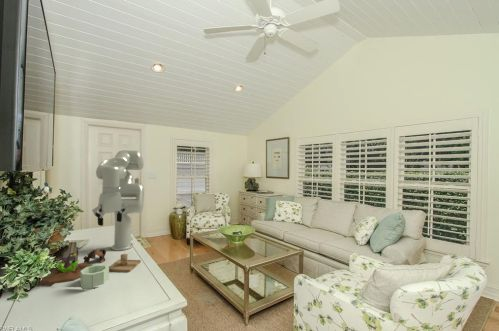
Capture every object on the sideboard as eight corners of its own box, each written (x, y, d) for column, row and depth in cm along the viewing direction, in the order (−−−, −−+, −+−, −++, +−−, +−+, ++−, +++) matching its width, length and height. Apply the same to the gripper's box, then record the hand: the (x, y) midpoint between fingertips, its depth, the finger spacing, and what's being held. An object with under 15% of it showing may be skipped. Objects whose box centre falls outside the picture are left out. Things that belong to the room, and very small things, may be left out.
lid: (118, 261, 133) (118, 250, 132) (140, 262, 133) (140, 251, 132) (105, 271, 121) (105, 259, 120) (129, 272, 121) (129, 259, 120)
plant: (79, 285, 109) (79, 260, 109) (30, 287, 106) (30, 262, 106) (99, 266, 129) (99, 245, 129) (58, 268, 126) (58, 246, 126)
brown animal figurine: (99, 268, 128) (90, 255, 126) (86, 274, 129) (77, 261, 128) (113, 254, 139) (105, 242, 138) (101, 259, 141) (92, 248, 139)
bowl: (90, 277, 116) (91, 264, 116) (112, 278, 116) (112, 264, 116) (75, 289, 105) (75, 274, 105) (99, 289, 105) (99, 274, 105)
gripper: (122, 188, 134) (121, 219, 134) (88, 191, 119) (88, 225, 119) (130, 189, 130) (130, 221, 130) (97, 192, 115) (97, 228, 115)
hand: (110, 223), depth 125 cm, fingers open, 9 cm apart
